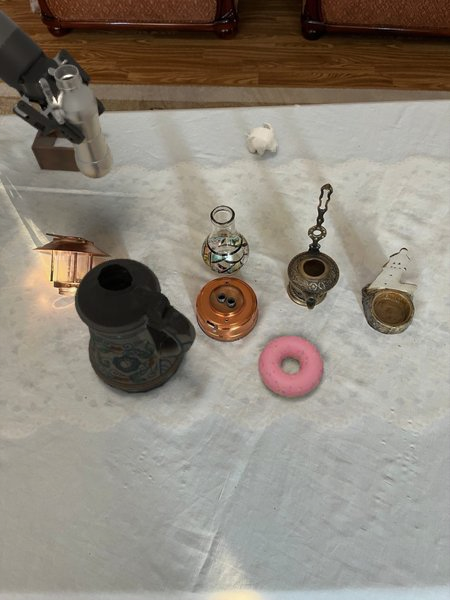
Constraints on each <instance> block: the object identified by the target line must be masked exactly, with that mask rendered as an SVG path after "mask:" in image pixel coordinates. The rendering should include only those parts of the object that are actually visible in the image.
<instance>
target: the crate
mask: <svg viewBox="0 0 450 600" xmlns="http://www.w3.org/2000/svg"><path fill="white" fill-rule="evenodd" d="M57 139H66V138H65V137H64V136H63V135H62V134H61V133H59V132H58V131H53V132H51V133H49V134H48V135H44V134H43V133H41V132H40V131H39V130H37V132H36V134H35V137H34V139H33V142H32V144H31V147H30V148H31V151H32V153H33V155H34V158H35V159H36V162H37V164H38V166H39V169H40V170H43V171H58V172H59V171H60V172H75V173H82V172H81V171H80V170H79V168H78V166H77V164H76V159H75V151H74V147H73V146H55V144H56V141H57Z"/></svg>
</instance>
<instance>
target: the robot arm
mask: <svg viewBox="0 0 450 600" xmlns="http://www.w3.org/2000/svg"><path fill="white" fill-rule="evenodd" d="M63 65H73V66H75V67H76V68H77V69H78V71H79V74H80V76H81V79H82V83H83V84H84V85H86V86H87V87H88V88H89V84H90V82H91V76H90V75H89V73H87V71H86V70H84V68H83V67H82V66H81V65H80V64H79V63H78V62H77V60H75V58H74V57H73V56H72V55H71V54H70V53H69V52H68V51H67V49H65V48H62V49H60V51H58V53H57V54H56V56H55V57H53V58H52V57H50V56H48V55H46V54H45V53H44V49H43V48H42V47H41V46H40V45H39V44H38V43H37V42H36V41H35V40H34V39H33V38H32V37H31V36H30V35H29V34H27V33H26V32H25V31H24V30H23V29H22V28H21V27H20V26H19V25H18V24H17V23H16V22H15V21H13V20H12V19H11V18H10V17H9V16H8V15H7V14H6V13H5V12H4V11H2V10H1V9H0V80H1V81H2V82H4V84H6V85H7V86H8V87H10V88H13V89H14V90H16V92H17V93H18V94H19V96H20V99H19V101H18V102H17V103H16V104H15V105H14V107H13V108H12V113H13V114H15V115H16V116H17V117H18V118H20V119H21V120H23V121H24V122H26V123H27V124H28V125H30V126H31V127H33V128H34V129H35V130H37V131H38V130H39V131H40V132H41V133H43V134H44V135H48V134H49V133H51V132H53V131H58V132H59V133H61V134H62V135H63V136H64V137H65V138H64V139H66V140H68V142H70V144H72V145H73V144H75V143H76V144H78V145H79V144H81V143H82V142H83V141H84V139H85V136H84V135H83V134H82V133H81V132H80V131H78V130H77V129H76V128H75V127H74V126H73V125H71V124H70V123H69V122H68V121H66V122H65V120H64V118H63V116H62V115H61V114H60V113H59V110H58V103H57V101H56V95H57V92H58V90H59V89H58V87H57V85H56V80H55V77H54V72H55V70H56V69H57V68H59V67H60V66H63ZM96 100H97V106H98V115H99V117H101V116H102V115H103V114H104V112H105V111H106V107H105V106H104V104H103V102H102V101H101V100H100V99H99V98H98V97H96ZM33 104H36V105H37V107H38V109H36V108H35V107H34V105H33Z"/></svg>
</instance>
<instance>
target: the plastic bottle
mask: <svg viewBox="0 0 450 600" xmlns="http://www.w3.org/2000/svg"><path fill="white" fill-rule="evenodd" d="M54 77H55V80H56V85H57V87H58V89H59V90H58V92H57V95H56V101H57V103H58V110H59V113H60V114H61V115H62V116H63V118H64V120H65V122H66V121H68V122H69V123H70V124H71V125H73V126H74V127H75V128H76V129H77V130H78V131H80V132H81V133H82V134H83V135H84V136H85V139H84V141H83V142H82V143H81V144H79V145H78V144H76V143H75V144H73V143H72V147H73V148H74V151H75V159H76V164H77V166H78V168H79V170H80V171H81V172H80V173H81V174H82V175H84V176H85V177H87V178H90V179H93V180H96V179H102V178H104V177H106V176H107V175H109V173H110V172H111V171H112V170H113V167H114V154H113V152H112V149H111V147H110V146H109V145H108V143H107V140H106V137H105V136H104V133H103V130H102V127H101V122H100V116H99V115H98V106H97V100H96V98H97V96H96V95H95V94H94V92H93V91H92V89H91V88H89V86H88V87H87V86H86V85H84V84H83V83H82V79H81V76H80V74H79V71H78V69H77V68H76V67H75V66H73V65H63V66H60V67H59V68H57V69H56V70H55V72H54Z"/></svg>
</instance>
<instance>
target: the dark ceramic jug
mask: <svg viewBox="0 0 450 600" xmlns="http://www.w3.org/2000/svg"><path fill="white" fill-rule="evenodd" d="M75 290H76V291H75V295H74V307H75V311H76V314H77V316H78V317H79V319H80V320H81V321H82V322H83V323H84V325H86V326H87V328H88V332H89V340H88V349H87V350H88V351H87V352H88V358H89V362H90V365H91V367H92V369H93V372H94V373H95V374H96V375H97V377H98V378H99V379H100V380H101V381H102V382H104V383H105V384H106V385H108V386H110V387H111V388H113V389H116V390H119V391H122V392H124V393H126V394H146V393H149V392H151V391H153V390H156V389H159V388H161V387H163V386H164V385H165V384H167V382H168V381H170V379H171V378H172V377H173V376H174V375H175V374H176V373H177V372H178V370H179V367H180V365H181V363H182V361H183V357H184V354H186V353H188V351H190V349H191V348H192V346H193V345H194V343H195V340H196V335H197V333H196V328H195V325H194V324H193V323H192V321H191V320H190V319H189V318H188V317H187V316H186V315H184V314H183V313H182V312H181V311H179V310H178V309H177V308H175V307H174V305H172V304H171V302H170V300H169V298H168V297H167V295H165V293H163V292H162V287H161V284H160V280H159V278H158V276H157V275H156V273H155V272H154V271H153V270H152V269H151V267H149V266H148V265H146V264H144V263H143V262H141V261H138V260H136V259H131V258H113V259H107V260H105V261H102V262H100V263H98V264H97V265H95V266H94V267H92V268H91V269H90V270H89V271H88V272H86V273H85V275H84V276H83V277H82V279H81V280H80V282H79V284H78V286H77V288H76V289H75Z"/></svg>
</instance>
